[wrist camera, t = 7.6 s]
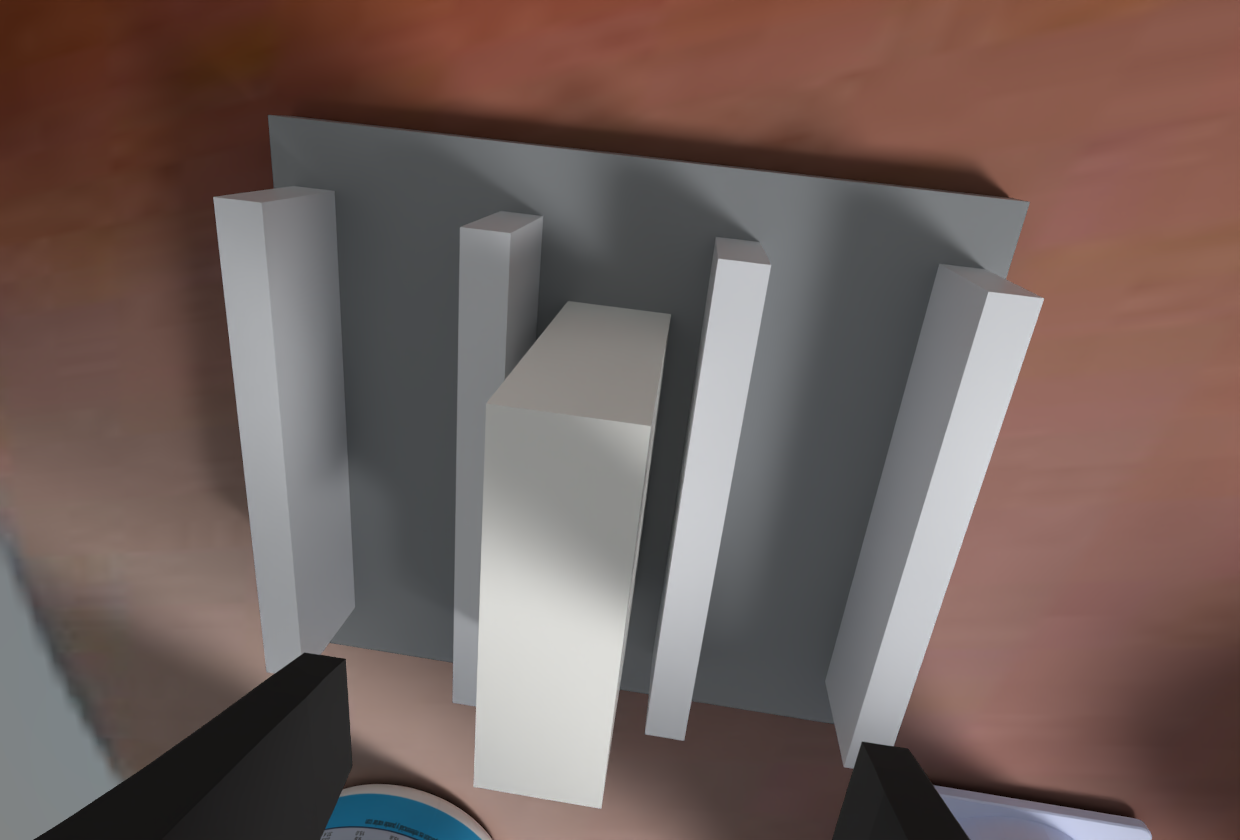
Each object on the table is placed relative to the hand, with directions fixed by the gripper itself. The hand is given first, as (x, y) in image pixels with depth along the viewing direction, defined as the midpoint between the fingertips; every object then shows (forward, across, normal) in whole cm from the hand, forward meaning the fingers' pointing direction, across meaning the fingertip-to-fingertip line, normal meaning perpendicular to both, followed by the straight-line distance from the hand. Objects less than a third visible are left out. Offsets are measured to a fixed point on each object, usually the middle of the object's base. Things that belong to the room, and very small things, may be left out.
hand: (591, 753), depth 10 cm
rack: (+10, +1, 0) cm, 10 cm away
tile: (+9, +1, 0) cm, 9 cm away
